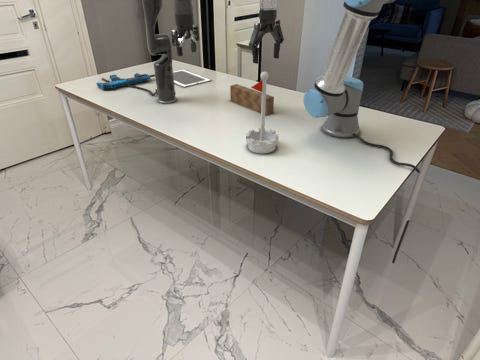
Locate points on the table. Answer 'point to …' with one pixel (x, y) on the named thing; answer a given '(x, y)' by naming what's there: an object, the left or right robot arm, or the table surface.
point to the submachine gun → (124, 81)
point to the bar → (250, 98)
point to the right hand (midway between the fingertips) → (266, 60)
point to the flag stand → (262, 125)
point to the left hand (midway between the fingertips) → (187, 53)
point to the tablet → (187, 78)
